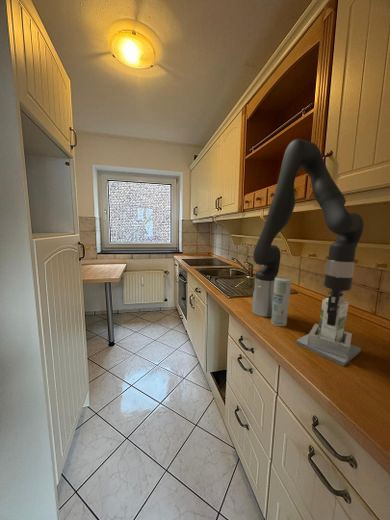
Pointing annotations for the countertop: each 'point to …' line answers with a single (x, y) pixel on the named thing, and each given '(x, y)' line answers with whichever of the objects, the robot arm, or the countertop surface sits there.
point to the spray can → (281, 301)
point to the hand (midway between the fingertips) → (332, 321)
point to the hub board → (337, 359)
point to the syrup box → (338, 329)
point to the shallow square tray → (330, 343)
